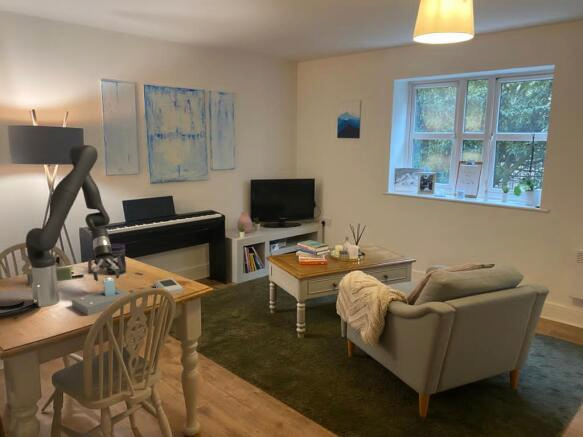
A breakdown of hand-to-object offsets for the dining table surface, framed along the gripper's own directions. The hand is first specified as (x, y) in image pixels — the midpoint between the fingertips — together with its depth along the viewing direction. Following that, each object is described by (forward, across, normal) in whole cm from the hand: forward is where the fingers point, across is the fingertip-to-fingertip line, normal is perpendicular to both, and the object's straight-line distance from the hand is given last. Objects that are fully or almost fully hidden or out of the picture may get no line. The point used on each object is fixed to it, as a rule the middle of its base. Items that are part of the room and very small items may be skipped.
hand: (107, 279), depth 200 cm
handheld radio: (-21, -19, +35) cm, 45 cm away
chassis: (+10, -3, +3) cm, 11 cm away
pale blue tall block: (+9, 0, +5) cm, 10 cm away
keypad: (+6, +27, +7) cm, 29 cm away
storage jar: (-21, +9, +34) cm, 41 cm away
